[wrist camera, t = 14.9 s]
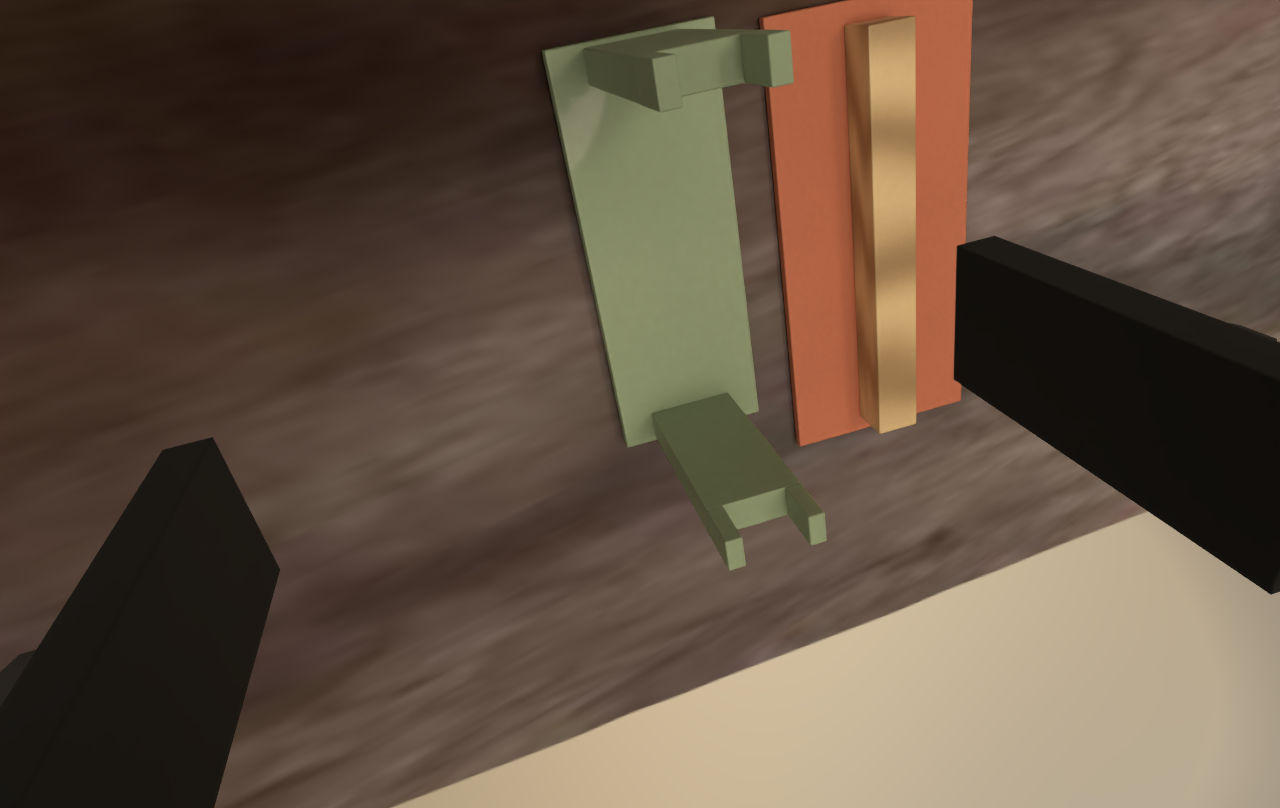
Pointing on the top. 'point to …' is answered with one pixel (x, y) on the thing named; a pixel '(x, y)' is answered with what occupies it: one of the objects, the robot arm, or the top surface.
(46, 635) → the robot arm
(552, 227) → the top surface
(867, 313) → the hanger bar
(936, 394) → the mat
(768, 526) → the top surface
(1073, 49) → the top surface
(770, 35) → the rack
